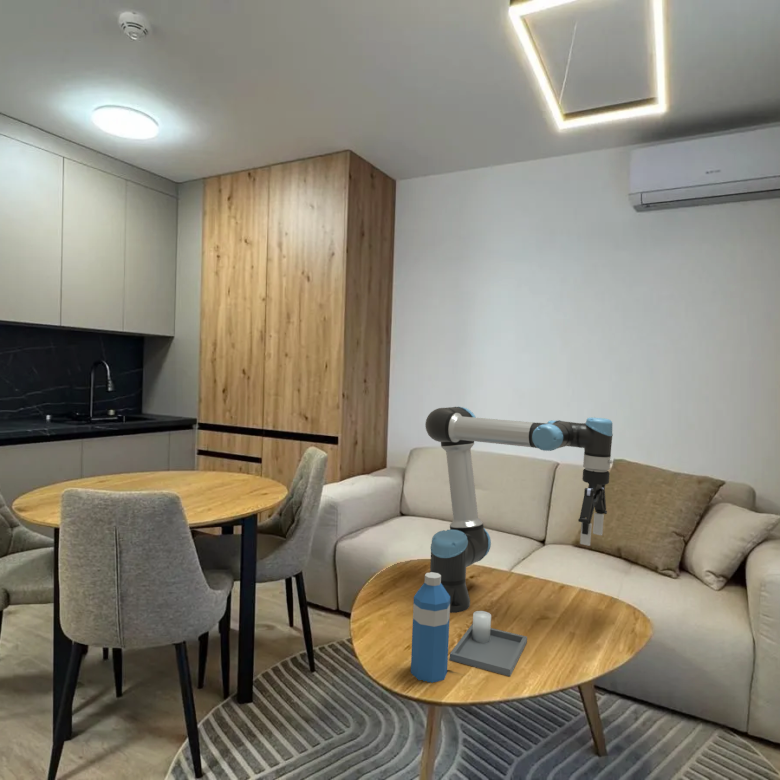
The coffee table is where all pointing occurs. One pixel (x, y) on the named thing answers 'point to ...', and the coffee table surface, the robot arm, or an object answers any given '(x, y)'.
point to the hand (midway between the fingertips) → (591, 539)
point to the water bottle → (430, 630)
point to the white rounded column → (481, 626)
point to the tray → (490, 651)
